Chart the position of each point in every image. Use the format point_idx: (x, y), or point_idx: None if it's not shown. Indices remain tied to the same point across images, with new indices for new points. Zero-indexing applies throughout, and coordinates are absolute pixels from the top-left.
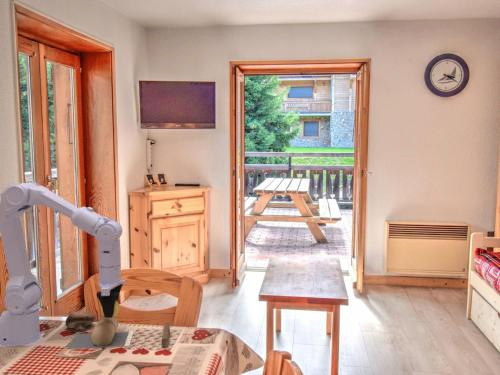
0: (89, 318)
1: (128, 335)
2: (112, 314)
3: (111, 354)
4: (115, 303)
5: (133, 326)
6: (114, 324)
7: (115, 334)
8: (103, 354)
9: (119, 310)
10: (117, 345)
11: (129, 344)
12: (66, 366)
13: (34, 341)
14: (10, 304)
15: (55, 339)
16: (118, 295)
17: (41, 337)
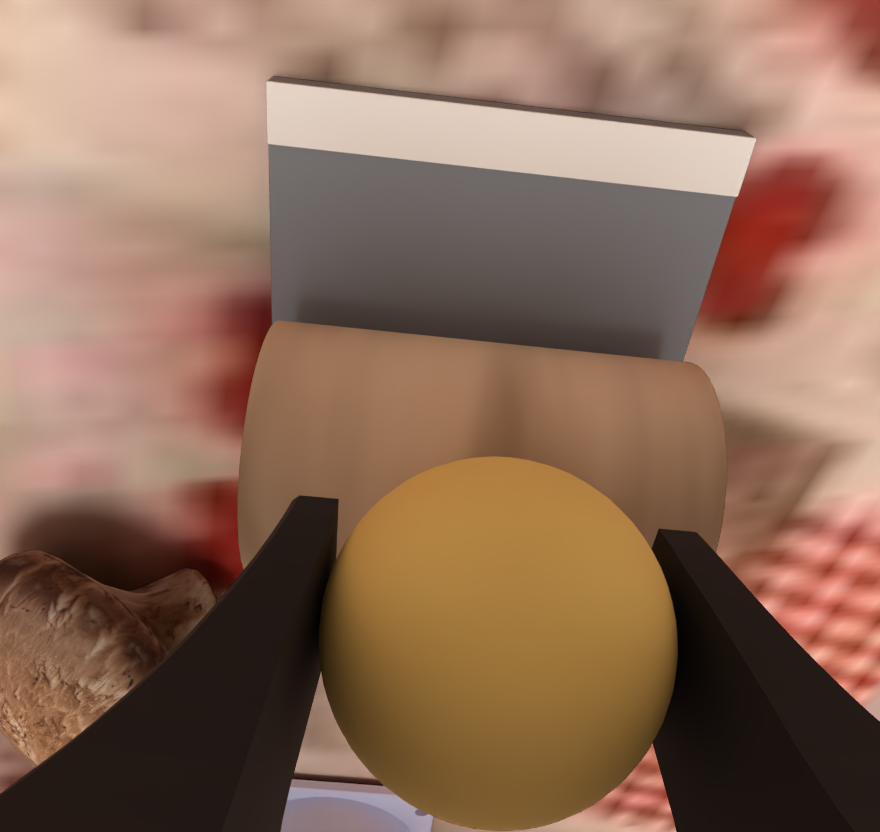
0: (125, 634)
1: (418, 152)
2: (720, 568)
3: (826, 318)
4: (603, 664)
5: (4, 79)
6: (480, 403)
7: (340, 309)
8: (785, 389)
9: (528, 472)
10: (685, 276)
11: (714, 132)
12: (875, 614)
13: (383, 810)
14: None
15: (326, 714)
16: (265, 708)
17: (312, 789)
